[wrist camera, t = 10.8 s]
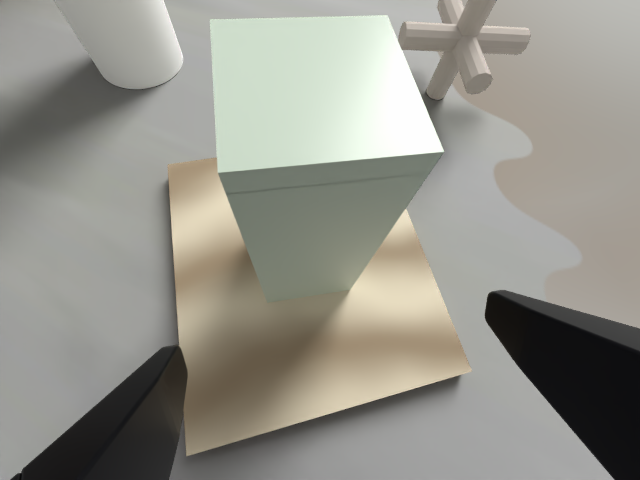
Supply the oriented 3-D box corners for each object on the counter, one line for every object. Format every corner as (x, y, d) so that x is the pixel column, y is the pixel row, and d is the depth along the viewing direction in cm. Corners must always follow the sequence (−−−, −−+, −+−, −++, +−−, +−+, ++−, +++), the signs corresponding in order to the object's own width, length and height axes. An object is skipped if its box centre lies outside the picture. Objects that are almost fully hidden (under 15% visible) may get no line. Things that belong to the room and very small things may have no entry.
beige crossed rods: (500, 134, 27) (604, 13, 18) (392, 132, 26) (444, 3, 17) (472, 59, 31) (545, -71, 22) (377, 55, 30) (413, -83, 21)
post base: (461, 371, 19) (511, 371, 14) (193, 450, 16) (157, 478, 12) (372, 145, 25) (388, 99, 21) (173, 174, 23) (145, 128, 18)
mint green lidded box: (350, 289, 19) (443, 151, 7) (267, 302, 18) (217, 172, 6) (334, 217, 21) (387, 15, 9) (259, 226, 20) (209, 19, 8)
